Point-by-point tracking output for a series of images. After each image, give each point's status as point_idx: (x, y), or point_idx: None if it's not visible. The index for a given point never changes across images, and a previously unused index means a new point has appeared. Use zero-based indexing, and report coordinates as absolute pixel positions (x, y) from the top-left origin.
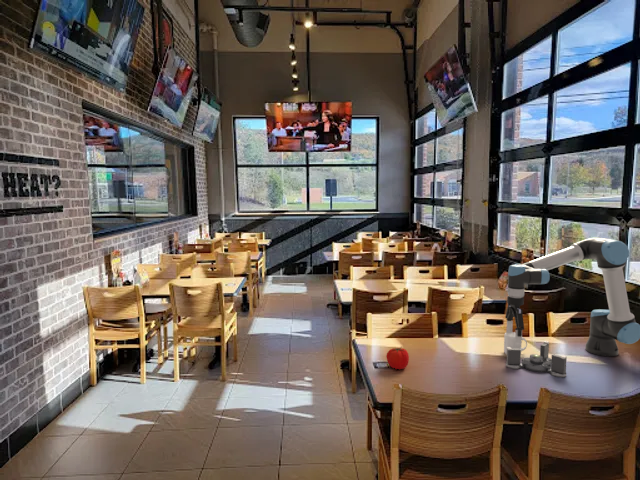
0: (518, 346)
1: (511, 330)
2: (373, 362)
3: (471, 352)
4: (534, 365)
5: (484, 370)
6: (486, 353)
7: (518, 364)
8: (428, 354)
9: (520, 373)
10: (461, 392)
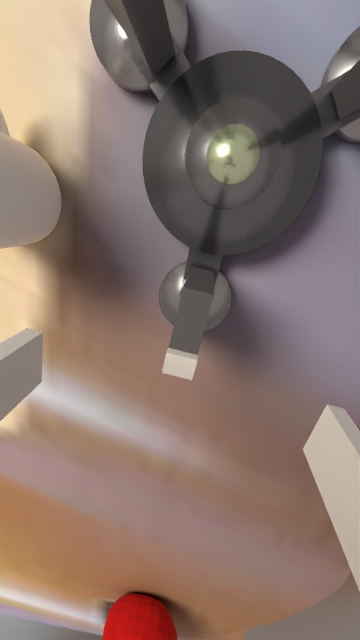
0: (21, 175)
1: (16, 358)
2: None
3: None
4: (271, 211)
5: (212, 428)
6: None
7: None
8: (49, 513)
9: (281, 309)
10: None
